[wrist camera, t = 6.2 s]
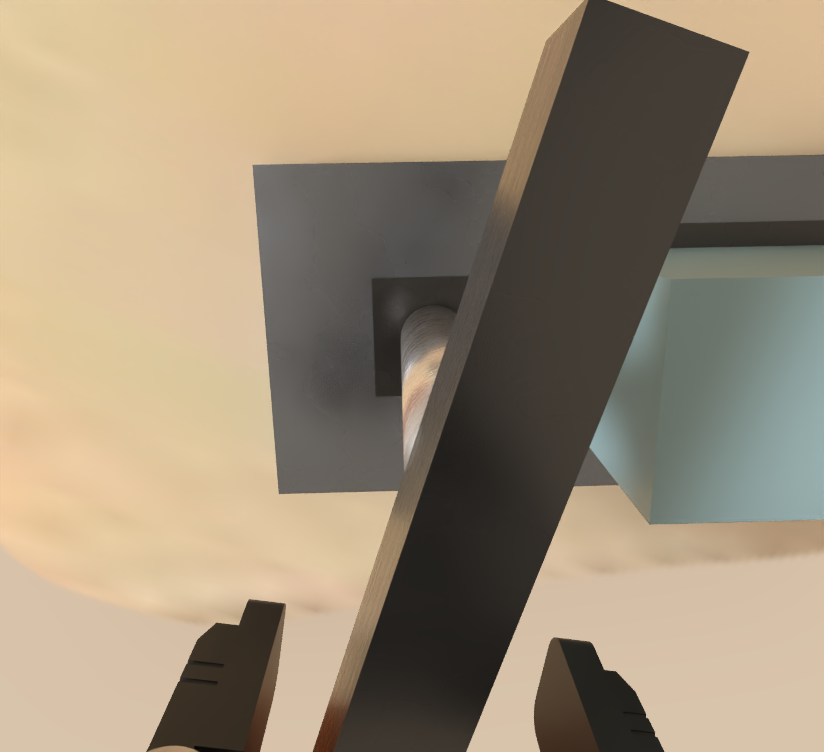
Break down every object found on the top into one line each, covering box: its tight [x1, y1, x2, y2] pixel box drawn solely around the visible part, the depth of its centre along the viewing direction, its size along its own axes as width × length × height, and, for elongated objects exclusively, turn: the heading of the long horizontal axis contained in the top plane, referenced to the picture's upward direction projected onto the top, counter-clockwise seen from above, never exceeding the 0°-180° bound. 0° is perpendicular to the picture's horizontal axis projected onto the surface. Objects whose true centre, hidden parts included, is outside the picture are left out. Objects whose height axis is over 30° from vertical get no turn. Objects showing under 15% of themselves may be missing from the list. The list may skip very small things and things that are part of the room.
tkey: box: [313, 0, 749, 752], centre depth 14 cm, size 2×12×11 cm, turn 163°
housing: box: [253, 155, 824, 494], centre depth 20 cm, size 10×18×2 cm, turn 91°
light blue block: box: [590, 245, 824, 524], centre depth 16 cm, size 5×8×7 cm, turn 91°
